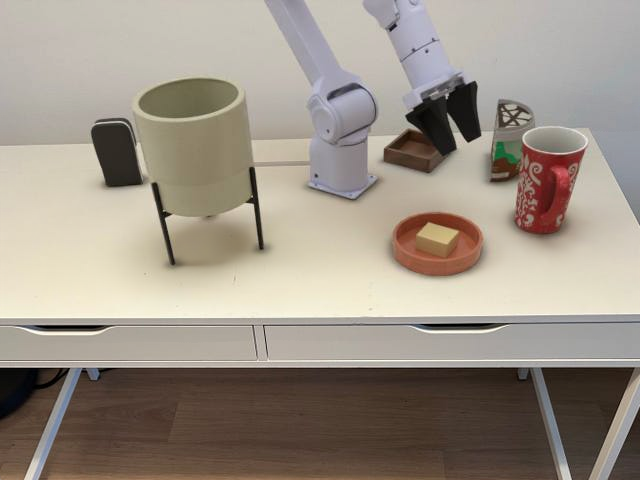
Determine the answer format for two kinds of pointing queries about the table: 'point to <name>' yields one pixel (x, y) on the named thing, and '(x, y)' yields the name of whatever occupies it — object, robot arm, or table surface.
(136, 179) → the battery charger
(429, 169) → the holder
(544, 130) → the mug
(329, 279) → the table surface
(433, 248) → the block
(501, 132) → the food container
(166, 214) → the planter
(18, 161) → the table surface
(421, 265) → the bowl
